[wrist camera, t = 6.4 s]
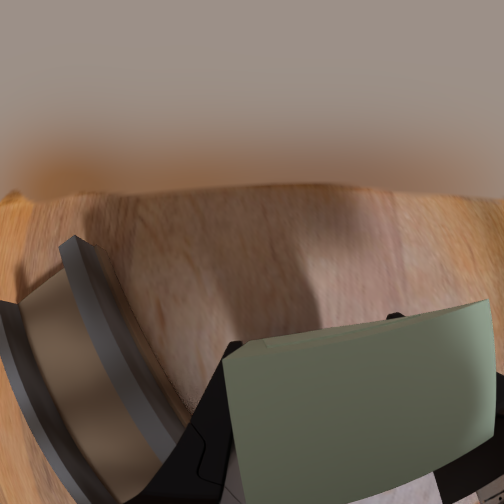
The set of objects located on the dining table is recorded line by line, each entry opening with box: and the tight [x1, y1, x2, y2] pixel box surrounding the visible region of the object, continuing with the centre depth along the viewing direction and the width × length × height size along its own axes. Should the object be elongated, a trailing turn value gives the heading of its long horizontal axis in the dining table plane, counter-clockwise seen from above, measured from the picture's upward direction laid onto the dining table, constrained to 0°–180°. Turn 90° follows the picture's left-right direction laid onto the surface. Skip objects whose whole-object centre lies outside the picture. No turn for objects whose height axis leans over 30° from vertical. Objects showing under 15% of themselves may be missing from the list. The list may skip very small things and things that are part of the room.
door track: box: [0, 235, 191, 504], centre depth 14 cm, size 20×11×4 cm, turn 31°
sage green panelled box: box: [222, 299, 496, 504], centre depth 10 cm, size 3×5×12 cm, turn 97°
